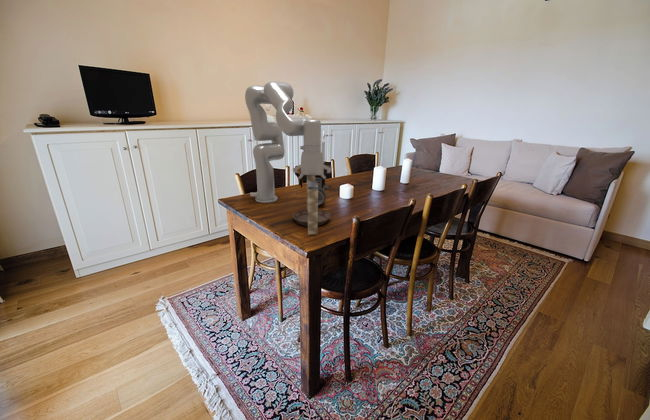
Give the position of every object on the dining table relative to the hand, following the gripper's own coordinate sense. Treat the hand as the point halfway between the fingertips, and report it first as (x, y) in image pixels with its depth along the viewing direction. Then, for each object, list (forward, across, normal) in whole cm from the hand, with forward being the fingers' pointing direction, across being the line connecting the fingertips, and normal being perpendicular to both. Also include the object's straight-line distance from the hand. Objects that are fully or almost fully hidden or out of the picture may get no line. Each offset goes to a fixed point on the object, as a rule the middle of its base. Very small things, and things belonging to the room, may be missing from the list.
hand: (312, 186), depth 128 cm
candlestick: (+16, +9, +56) cm, 59 cm away
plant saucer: (+17, 0, 0) cm, 17 cm away
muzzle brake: (+17, +4, +31) cm, 36 cm away
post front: (+17, 0, -11) cm, 20 cm away
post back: (+17, 0, +12) cm, 20 cm away
